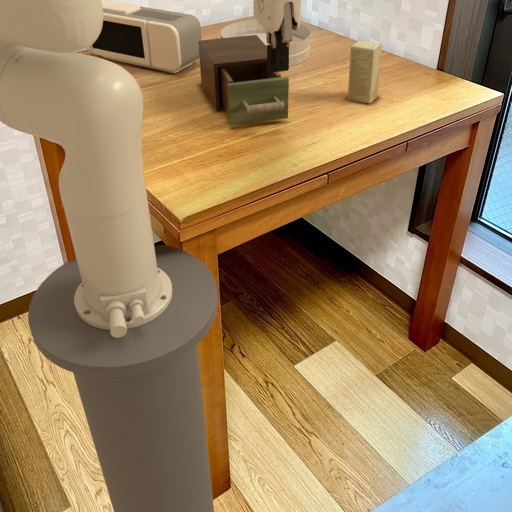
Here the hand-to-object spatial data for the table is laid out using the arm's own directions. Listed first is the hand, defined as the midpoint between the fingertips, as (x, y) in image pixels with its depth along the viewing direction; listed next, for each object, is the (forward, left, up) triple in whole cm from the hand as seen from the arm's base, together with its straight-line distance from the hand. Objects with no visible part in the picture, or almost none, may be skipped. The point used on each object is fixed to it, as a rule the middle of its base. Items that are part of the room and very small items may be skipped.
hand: (277, 69), depth 97 cm
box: (+17, -24, -15) cm, 33 cm away
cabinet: (+27, 0, -15) cm, 30 cm away
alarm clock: (+53, +16, -15) cm, 57 cm away
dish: (+50, -13, -15) cm, 53 cm away
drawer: (+15, 0, -14) cm, 20 cm away
